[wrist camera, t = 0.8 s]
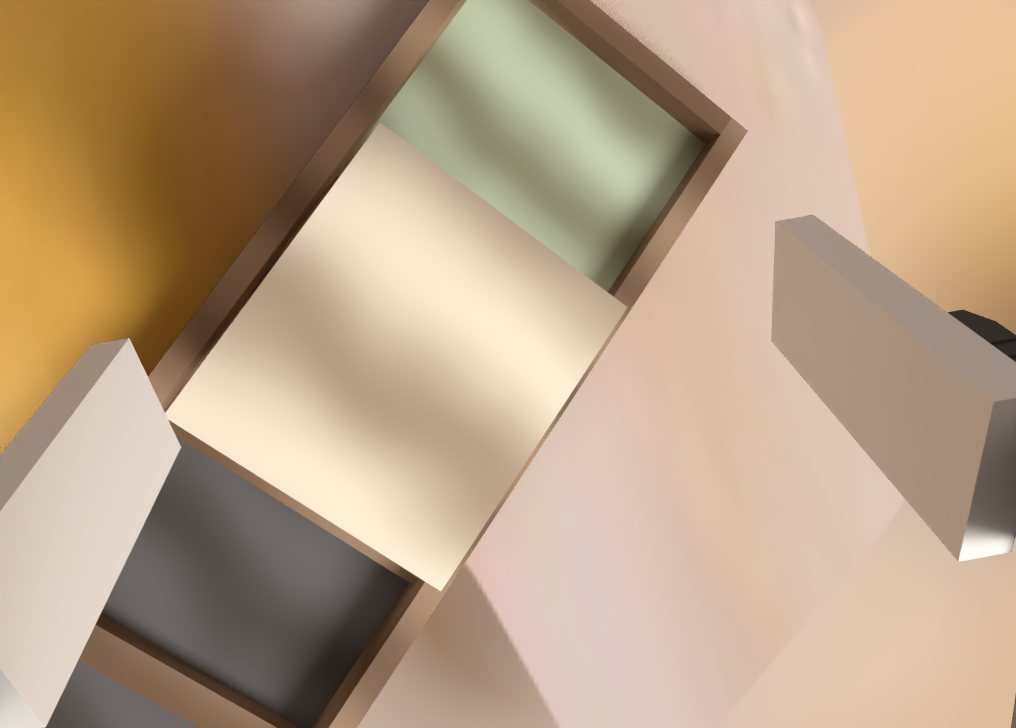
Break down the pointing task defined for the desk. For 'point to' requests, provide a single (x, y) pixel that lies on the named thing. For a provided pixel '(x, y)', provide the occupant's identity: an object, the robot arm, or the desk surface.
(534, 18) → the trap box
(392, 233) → the birch block
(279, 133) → the desk surface
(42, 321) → the desk surface
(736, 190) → the desk surface
